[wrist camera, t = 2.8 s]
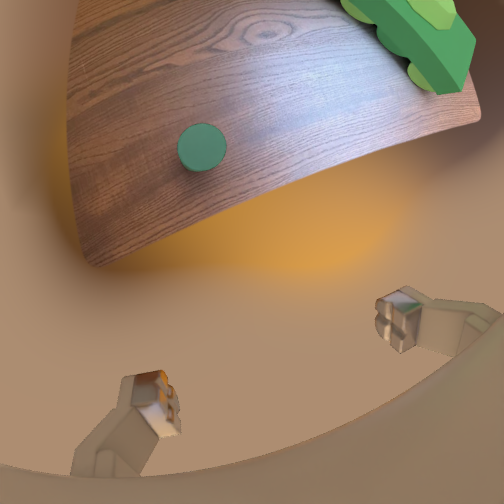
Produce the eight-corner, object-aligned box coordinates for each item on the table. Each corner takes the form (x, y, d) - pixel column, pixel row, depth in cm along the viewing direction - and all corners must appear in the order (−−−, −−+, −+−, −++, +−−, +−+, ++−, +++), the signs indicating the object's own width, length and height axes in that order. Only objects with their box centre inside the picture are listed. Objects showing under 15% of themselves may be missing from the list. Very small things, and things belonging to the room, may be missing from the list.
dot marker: (194, 178, 30) (199, 181, 20) (173, 155, 29) (167, 145, 18) (218, 157, 30) (236, 148, 20) (197, 134, 29) (204, 113, 18)
